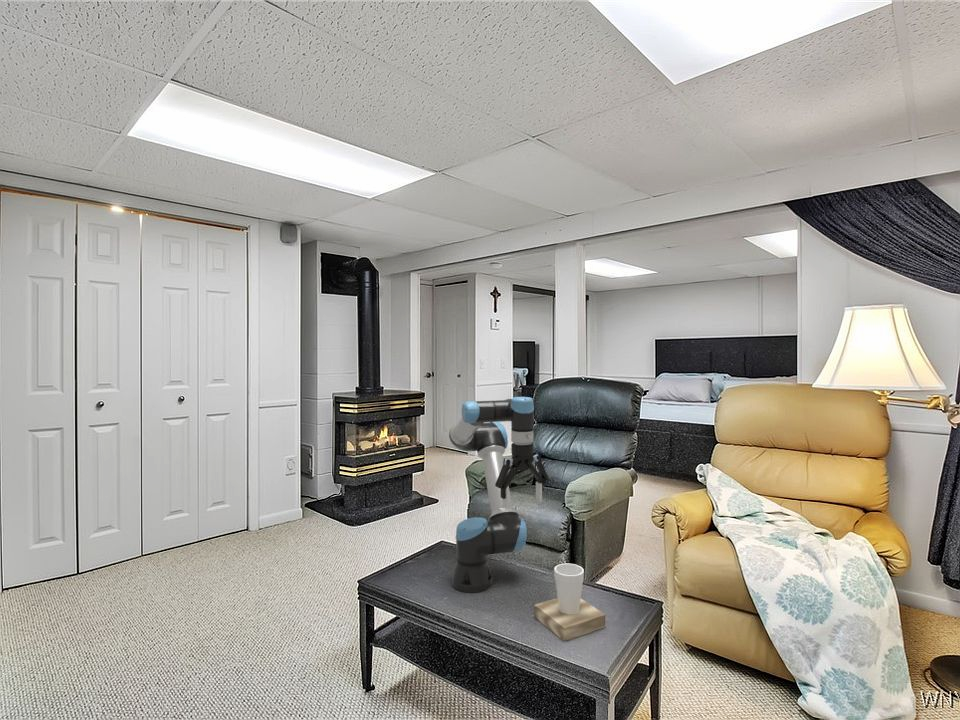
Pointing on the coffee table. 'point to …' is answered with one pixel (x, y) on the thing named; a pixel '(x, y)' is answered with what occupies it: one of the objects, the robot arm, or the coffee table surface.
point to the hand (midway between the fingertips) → (522, 504)
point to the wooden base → (569, 619)
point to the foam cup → (569, 587)
